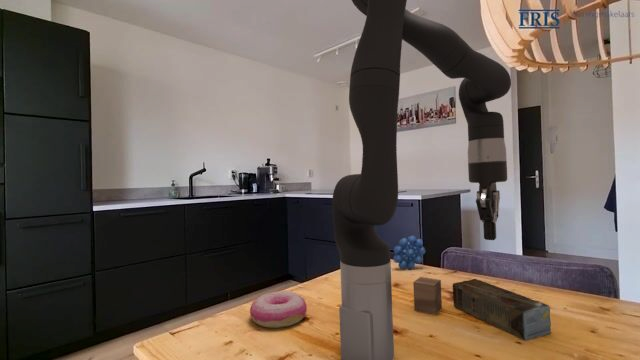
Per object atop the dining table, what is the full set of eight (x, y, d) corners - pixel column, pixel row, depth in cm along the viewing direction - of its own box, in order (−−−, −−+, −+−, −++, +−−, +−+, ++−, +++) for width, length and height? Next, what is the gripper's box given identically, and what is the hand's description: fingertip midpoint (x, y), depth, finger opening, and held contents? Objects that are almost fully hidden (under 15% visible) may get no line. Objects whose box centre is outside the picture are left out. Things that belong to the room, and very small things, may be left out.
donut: (265, 338, 65) (264, 314, 65) (241, 317, 76) (240, 297, 76) (318, 320, 73) (317, 298, 73) (289, 303, 84) (288, 285, 84)
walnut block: (435, 315, 73) (434, 285, 74) (414, 310, 77) (413, 281, 77) (441, 308, 77) (440, 279, 77) (421, 304, 80) (420, 276, 81)
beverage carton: (524, 343, 60) (523, 308, 60) (451, 307, 78) (450, 280, 78) (553, 334, 63) (551, 301, 63) (475, 302, 81) (474, 276, 81)
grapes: (421, 265, 117) (420, 233, 117) (428, 270, 110) (427, 236, 110) (390, 266, 116) (389, 234, 116) (396, 271, 110) (394, 237, 110)
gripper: (501, 158, 62) (505, 246, 62) (510, 160, 72) (514, 235, 72) (460, 161, 66) (464, 243, 66) (475, 162, 77) (478, 233, 77)
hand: (490, 239), depth 69 cm, fingers closed
